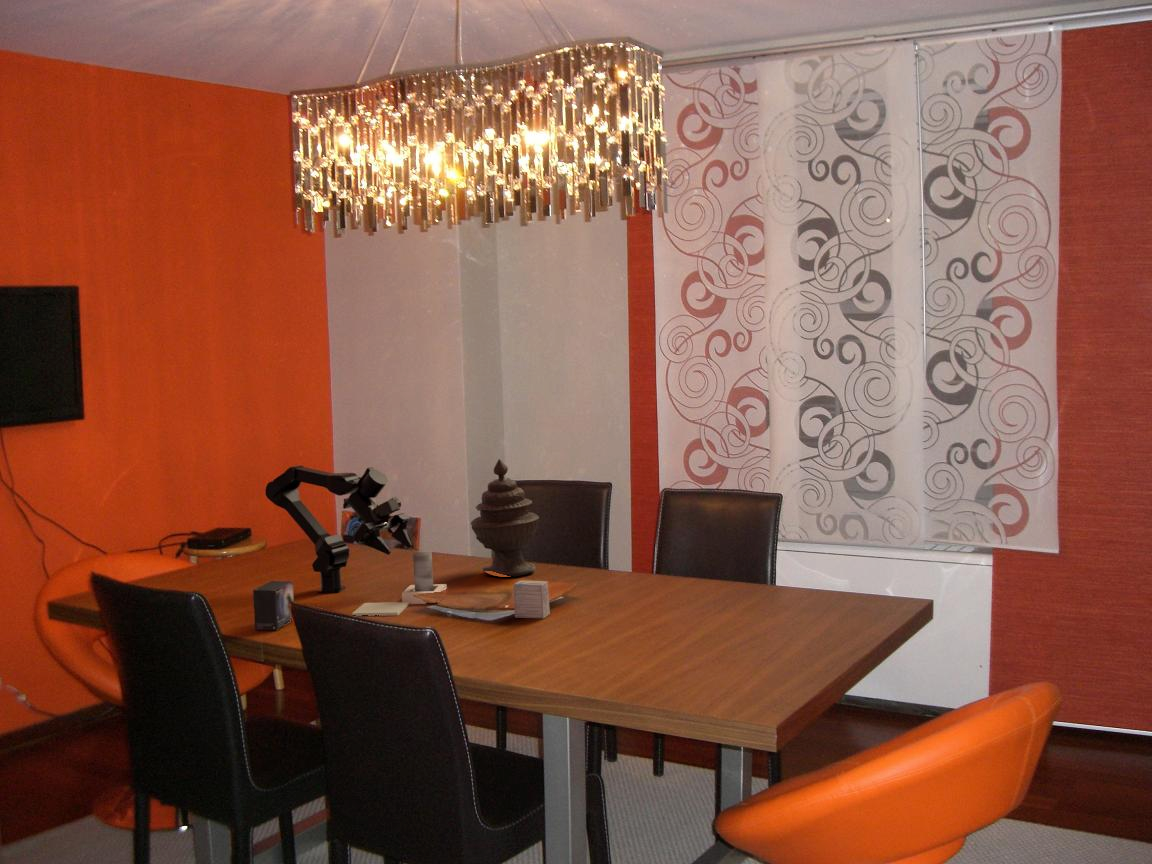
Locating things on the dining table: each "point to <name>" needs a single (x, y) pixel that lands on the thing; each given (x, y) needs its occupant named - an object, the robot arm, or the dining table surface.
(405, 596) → the pocket block
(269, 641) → the dining table surface
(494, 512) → the decorative urn
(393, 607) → the pad
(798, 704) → the dining table surface
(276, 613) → the small box
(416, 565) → the peg
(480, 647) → the dining table surface
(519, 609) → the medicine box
